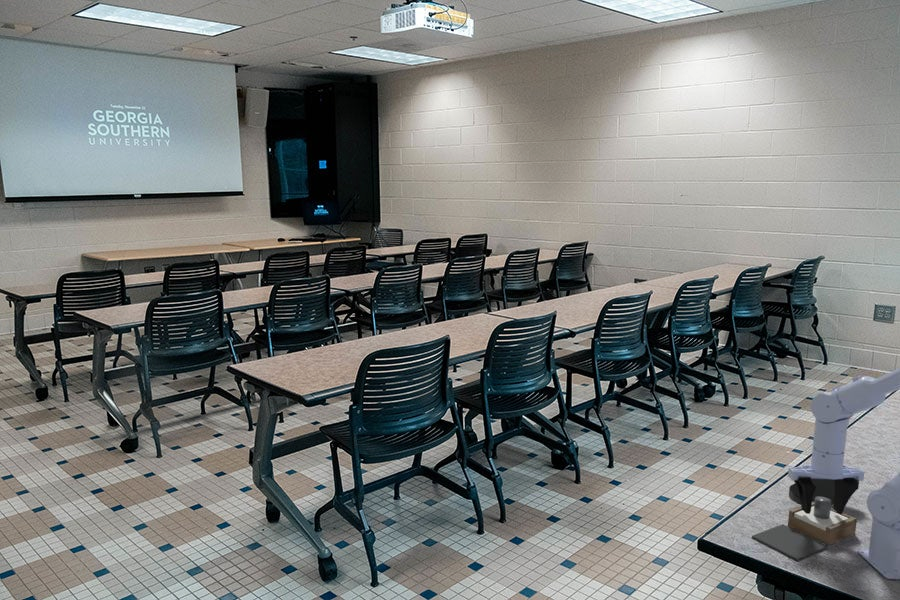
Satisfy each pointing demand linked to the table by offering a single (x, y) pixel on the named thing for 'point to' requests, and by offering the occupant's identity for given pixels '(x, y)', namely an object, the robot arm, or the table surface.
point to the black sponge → (817, 490)
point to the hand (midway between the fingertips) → (821, 511)
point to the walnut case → (827, 537)
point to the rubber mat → (790, 542)
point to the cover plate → (820, 521)
